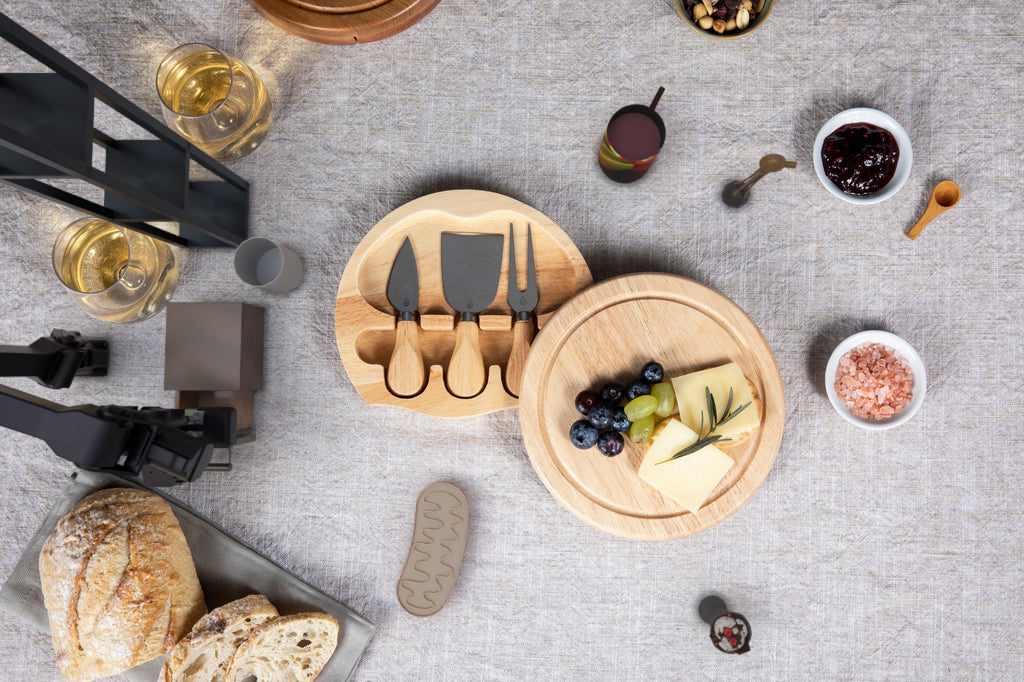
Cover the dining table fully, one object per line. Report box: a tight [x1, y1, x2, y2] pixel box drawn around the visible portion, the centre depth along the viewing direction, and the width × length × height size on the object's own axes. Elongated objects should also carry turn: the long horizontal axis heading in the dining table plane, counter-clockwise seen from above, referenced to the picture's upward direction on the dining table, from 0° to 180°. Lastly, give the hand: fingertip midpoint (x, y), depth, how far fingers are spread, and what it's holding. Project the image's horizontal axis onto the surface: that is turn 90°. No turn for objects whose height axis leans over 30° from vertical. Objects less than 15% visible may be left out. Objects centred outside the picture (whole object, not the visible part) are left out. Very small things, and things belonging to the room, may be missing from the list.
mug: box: [597, 85, 667, 184], centre depth 114 cm, size 10×14×12 cm
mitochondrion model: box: [395, 481, 470, 619], centre depth 114 cm, size 23×10×5 cm, turn 167°
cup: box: [232, 236, 305, 295], centre depth 115 cm, size 8×8×10 cm
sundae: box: [698, 595, 753, 656], centre depth 108 cm, size 7×7×15 cm
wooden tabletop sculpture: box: [720, 153, 798, 209], centre depth 109 cm, size 6×5×20 cm
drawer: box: [174, 390, 257, 473], centre depth 114 cm, size 18×11×8 cm, turn 0°
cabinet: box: [163, 301, 265, 391], centre depth 114 cm, size 15×13×10 cm
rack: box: [0, 11, 250, 250], centre depth 87 cm, size 12×12×66 cm
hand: (199, 422), depth 109 cm, fingers closed on block, 4 cm apart
